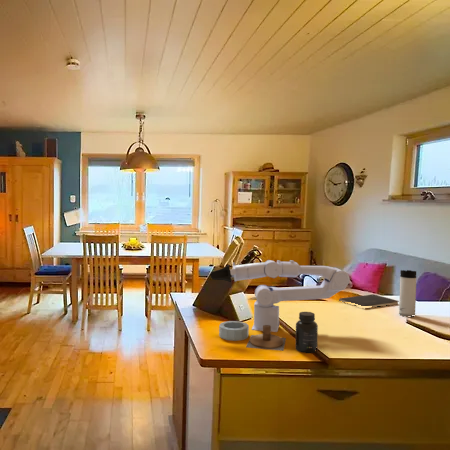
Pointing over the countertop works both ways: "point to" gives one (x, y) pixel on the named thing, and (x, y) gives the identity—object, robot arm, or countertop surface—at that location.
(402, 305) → the travel mug
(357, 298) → the hardcover book
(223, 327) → the bowl
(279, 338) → the lid
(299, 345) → the supplement bottle
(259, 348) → the mat
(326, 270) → the robot arm
